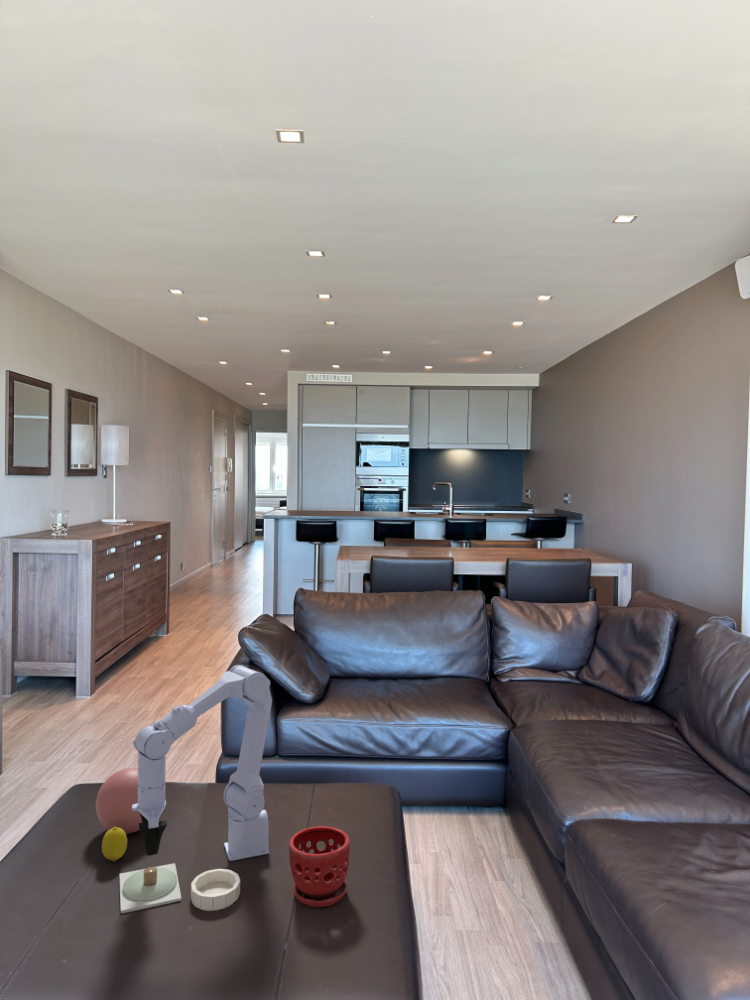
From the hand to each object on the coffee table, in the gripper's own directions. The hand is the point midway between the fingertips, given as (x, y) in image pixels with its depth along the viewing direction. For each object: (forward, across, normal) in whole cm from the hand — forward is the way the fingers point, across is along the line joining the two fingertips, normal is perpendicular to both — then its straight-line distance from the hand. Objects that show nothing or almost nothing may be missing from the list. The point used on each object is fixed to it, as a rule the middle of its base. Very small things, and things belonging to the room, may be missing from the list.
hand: (151, 845), depth 144 cm
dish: (+9, +8, +13) cm, 18 cm away
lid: (+9, 0, 0) cm, 9 cm away
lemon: (+10, -14, -7) cm, 18 cm away
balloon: (+10, -30, -3) cm, 32 cm away
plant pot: (+10, +15, +34) cm, 38 cm away
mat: (+9, 0, 0) cm, 9 cm away
